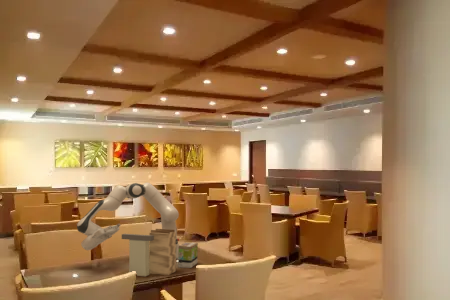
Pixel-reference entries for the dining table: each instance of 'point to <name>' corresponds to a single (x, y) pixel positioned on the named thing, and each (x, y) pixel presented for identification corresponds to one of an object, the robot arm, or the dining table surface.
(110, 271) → the dining table surface
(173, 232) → the stand
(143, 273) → the block
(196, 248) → the tea box
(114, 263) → the dining table surface
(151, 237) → the bar
